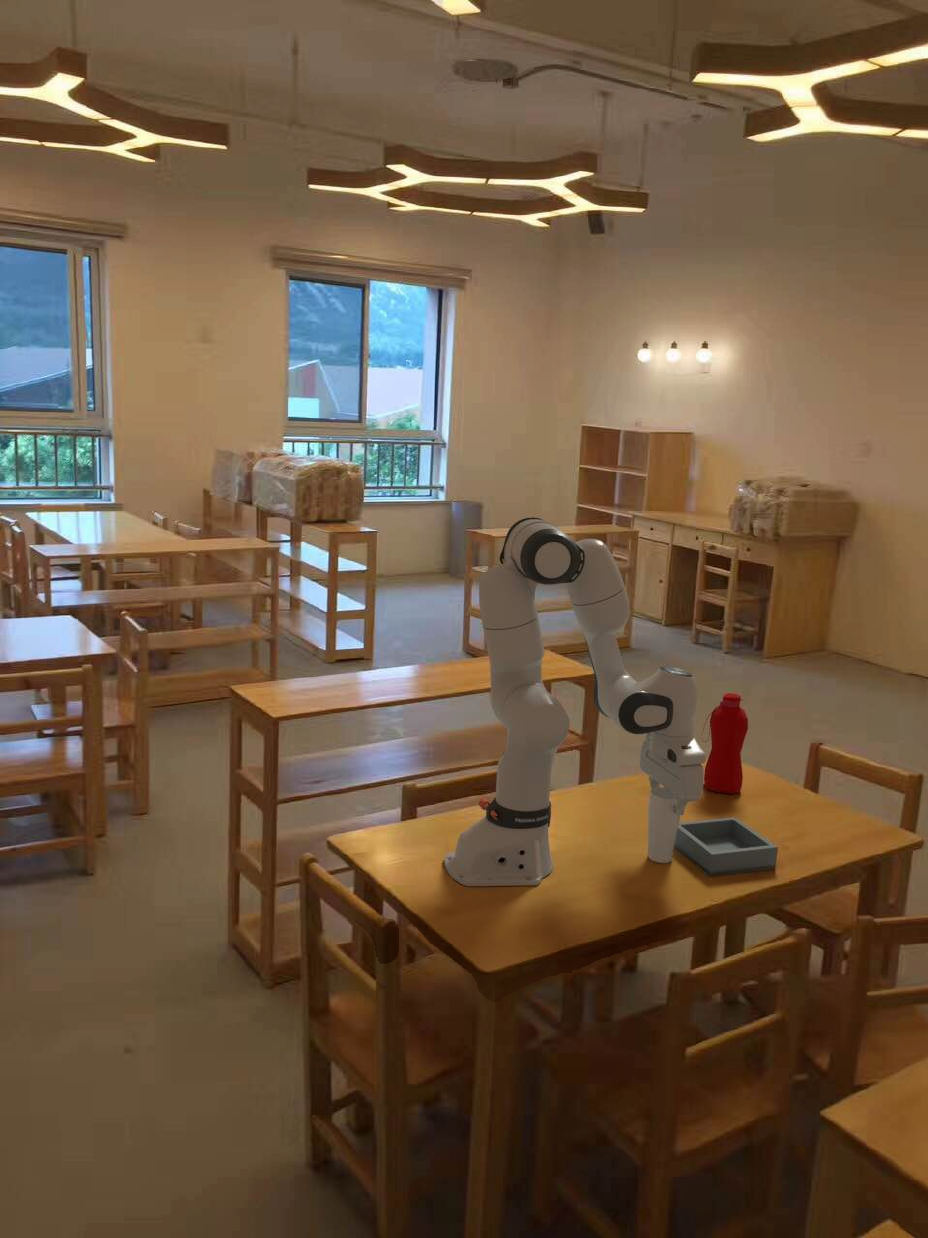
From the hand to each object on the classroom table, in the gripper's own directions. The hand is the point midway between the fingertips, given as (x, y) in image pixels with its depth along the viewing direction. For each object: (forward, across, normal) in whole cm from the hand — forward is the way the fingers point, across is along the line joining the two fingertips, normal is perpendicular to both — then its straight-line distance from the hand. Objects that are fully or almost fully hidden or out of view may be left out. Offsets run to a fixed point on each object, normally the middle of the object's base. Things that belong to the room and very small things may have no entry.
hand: (667, 805), depth 213 cm
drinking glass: (+12, 0, -1) cm, 12 cm away
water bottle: (+13, -34, +35) cm, 51 cm away
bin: (+12, +2, +13) cm, 18 cm away
